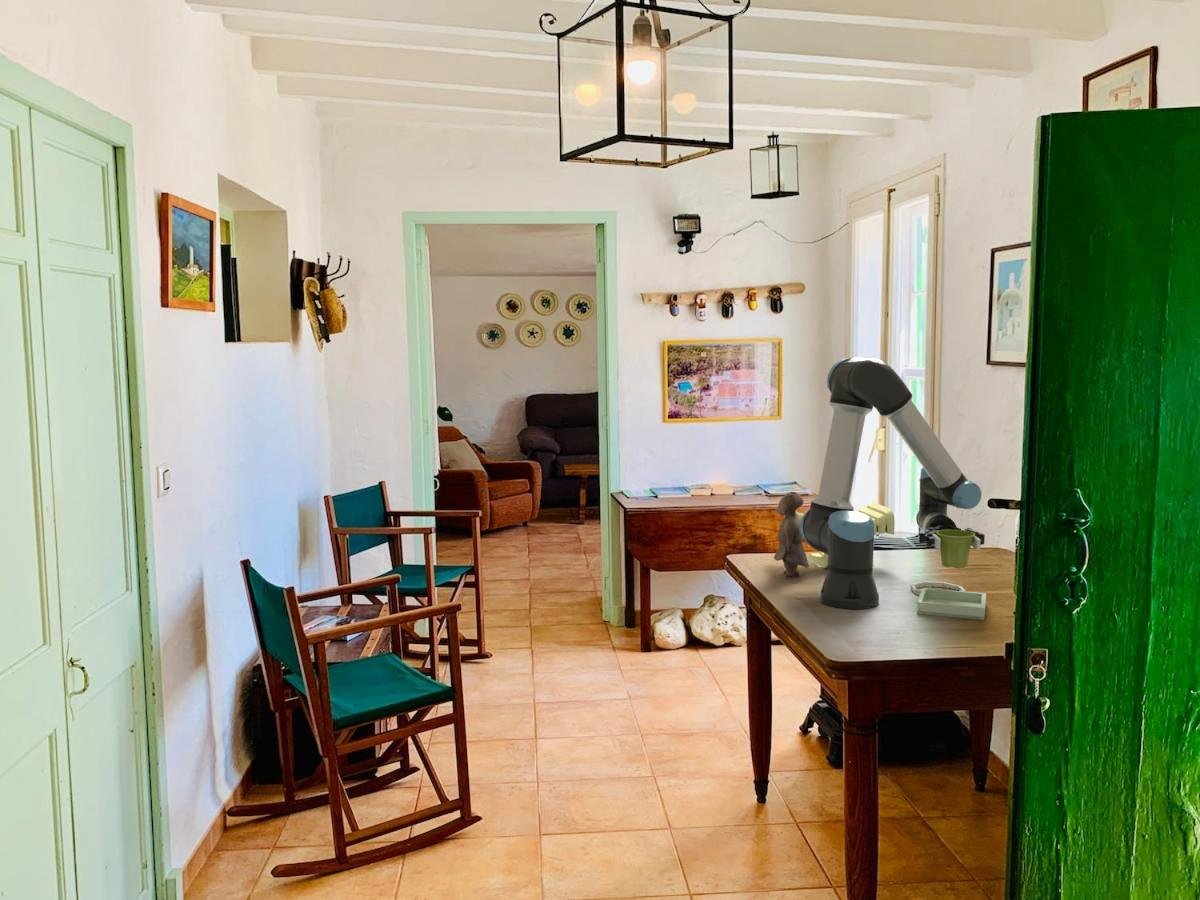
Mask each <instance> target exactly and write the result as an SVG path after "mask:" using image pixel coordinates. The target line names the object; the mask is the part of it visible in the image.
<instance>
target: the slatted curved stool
mask: <svg viewBox="0 0 1200 900" xmlns="http://www.w3.org/2000/svg"><path fill="white" fill-rule="evenodd" d="M795 512H796V516H797V517H798V519H799V522H800V524H801V520H802V517H803V515H804V514H805V513H801V512H798V511H797V510H796V511H795ZM855 512H857V513H863V514H866V515H868V516H869V517H871V518H872V520H873V522H874V530H875V535H877V534H889V535H892V536H893V535H895V524H896V523H895V515H894V512H893V510H892V509H891V508H890V507H888V506H884V505H883V504H879V503H876V502H874V501H871V502H870V503H869V504H867V505H866V507H865V506H863V507H861V508H860V509H859V508H858V511H856V510H855ZM875 535H874V536H875ZM807 559H808V560H811V561H813V562H814V563H816V564H818V565H820V566H822V567H823V568H822V569H828V554H825V553H823V552H820V553H817V552H815V553H814V552H813V553H812V552H811V553H809V555H807Z"/></svg>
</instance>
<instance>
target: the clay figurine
mask: <svg viewBox="0 0 1200 900" xmlns="http://www.w3.org/2000/svg"><path fill="white" fill-rule="evenodd" d="M803 505H804V498H803V497H802V495H801V494H800V493H798V492H795V491H789V492H787V493H785V494H784V495H783V496H782V498H781V499H780V500H779V501H778V506H777V508H776V510H775V511H776V513H777V514H778V515H780V516H782V517H783V516H784V517H783V519H782V520H781V521H780V524H779V529H778V533H777V541H778V543H779V546H778V547H777V548H778V549H777V550H776V552H775V554H774V556H773V559H774V560H775V561H777V562H778V561H781V560H782V562H783V565H784V568H785V571H784V572H783V578H785V579H789V578H800V577H801V575H800V574H801V573H800V571H798V566H802V567H805V568H806V569H808V568H809V561H808V560H807V558H808V556H807V554H806V551H805V548H804V545H803V537H802V534H801V530H800V522H799V519H798V517H797V516H796V512H797V509H799V508H801V507H802V506H803ZM795 511H796V512H795Z"/></svg>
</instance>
